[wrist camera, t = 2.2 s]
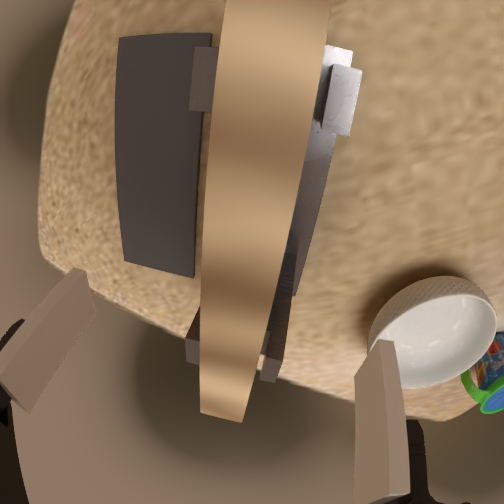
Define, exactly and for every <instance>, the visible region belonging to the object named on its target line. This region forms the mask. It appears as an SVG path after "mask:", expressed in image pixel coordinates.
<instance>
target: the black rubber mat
mask: <svg viewBox="0 0 504 504" xmlns="http://www.w3.org/2000/svg"><path fill="white" fill-rule="evenodd" d="M212 35H213V34H211V33H170V34H152V35H139V36H129V37H121V38H119V45H118V56H117V70H116V89H115V162H116V182H117V197H118V209H119V219H120V229H121V238H122V246H123V254H124V261H127V262H130V263H134V264H138V265H142V266H146V267H149V268H153V269H157V270H161V271H165V272H169V273H173V274H177V275H181V276H185V277H189V278H194V276H195V246H196V218H197V197H198V179H199V164H200V150H201V137H202V125H203V114H204V112H202V111H191V110H189V101H190V90H191V80H192V70H193V61H194V52H195V47H211V42H212Z"/></svg>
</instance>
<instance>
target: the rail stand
mask: <svg viewBox="0 0 504 504" xmlns="http://www.w3.org/2000/svg"><path fill="white" fill-rule="evenodd" d="M352 54H353V51H350V50H346V49H342V48H338V47H333V46H329V45H325V50H324V56H323V62H322V68H321V74H320V80H319V85H318V91H317V96H316V102H315V107H314V113H313V118H312V123H311V128H310V134H309V139H308V144H307V149H306V154H305V159H304V164H303V169H302V174H301V179H300V183H299V188H298V193H297V198H296V202H295V207H294V212H293V216H292V221H291V225H290V230H289V235H288V239H287V243H286V248H285V252H284V257H283V261H282V265H281V270H280V274H279V278H278V283H277V287H276V291H275V295H274V300H273V304H272V308H271V312H270V316H269V320H268V324H267V328H266V332H265V336H264V340H263V344H262V348H261V352H260V354H262V355H265V356H264V361H263V365H262V370H261V375H260V380H263V381H268V382H273V383H275V381H276V378H277V376H278V373H279V370H280V367H281V365H282V362H283V357H284V350H285V343H286V336H287V330H288V322H289V315H290V308H291V300H292V296H295V295H296V292H297V289H298V285H299V282H300V278H301V275H302V271H303V268H304V264H305V261H306V257H307V253H308V250H309V246H310V242H311V239H312V235H313V231H314V227H315V223H316V220H317V216H318V212H319V208H320V204H321V200H322V196H323V192H324V188H325V184H326V180H327V175H328V171H329V167H330V163H331V158H332V154H333V149H334V145H335V141H336V136H337V134H338V135H342V136H346V137H349V134H350V130H351V125H352V121H353V116H354V111H355V107H356V102H357V97H358V92H359V87H360V82H361V76H362V70H358V69H355V68H351V67H350V66H351V60H352ZM218 55H219V47H195V52H194V61H193V70H192V80H191V90H190V101H189V110H191V111H202V112H212V107H213V97H214V88H215V79H216V71H217V63H218ZM185 343H186V361H187V362H190V363H194V364H197V365H200V307H199V309H198V311H197V313H196V315H195V318H194V320H193V322H192V324H191V326H190V328H189V331H188V333H187V335H186V337H185Z"/></svg>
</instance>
